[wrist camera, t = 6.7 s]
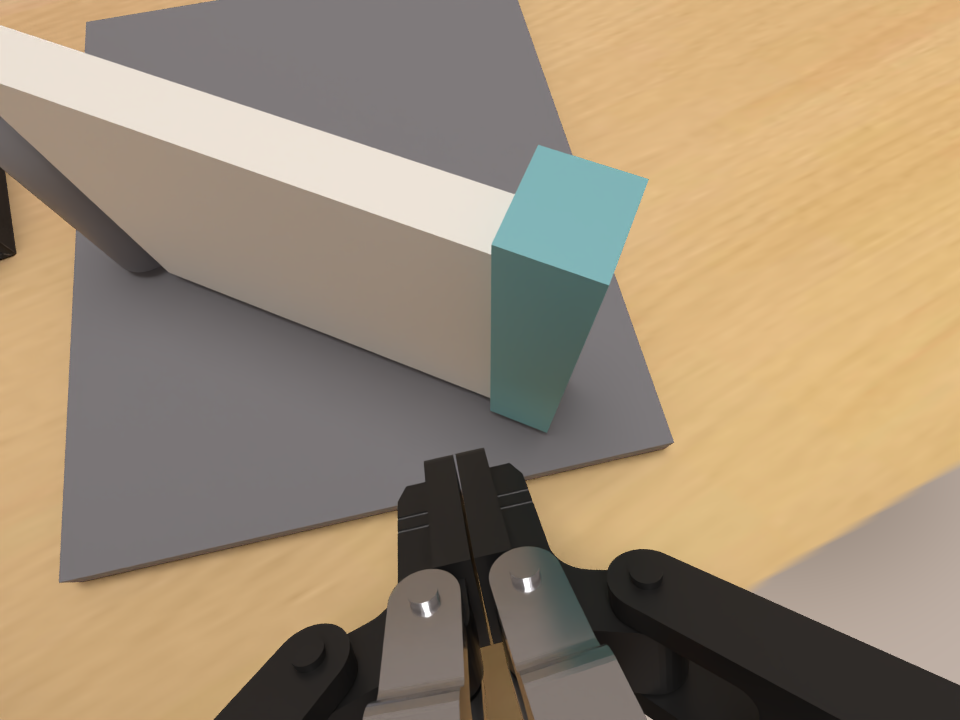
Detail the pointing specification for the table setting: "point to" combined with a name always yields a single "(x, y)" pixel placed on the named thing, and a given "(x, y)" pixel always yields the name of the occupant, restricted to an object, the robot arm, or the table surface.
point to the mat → (292, 346)
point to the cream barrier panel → (324, 222)
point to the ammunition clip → (5, 220)
